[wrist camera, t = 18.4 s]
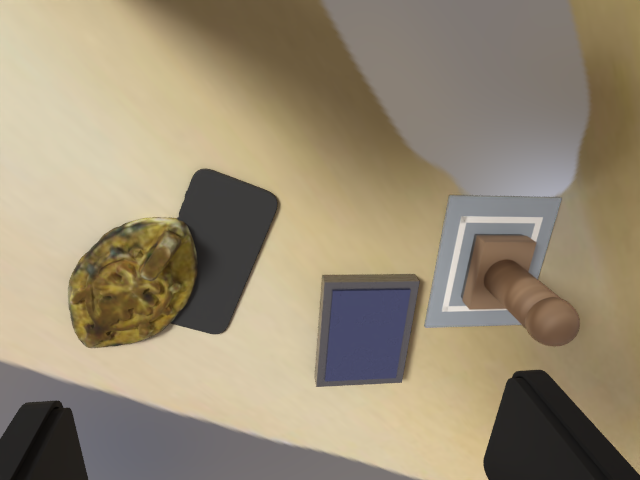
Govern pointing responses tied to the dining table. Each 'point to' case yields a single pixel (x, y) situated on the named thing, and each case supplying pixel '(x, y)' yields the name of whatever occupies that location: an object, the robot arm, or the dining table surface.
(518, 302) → the stamp
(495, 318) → the stamp card
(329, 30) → the dining table surface
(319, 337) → the ink pad
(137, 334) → the brass ornament
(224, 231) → the phone
